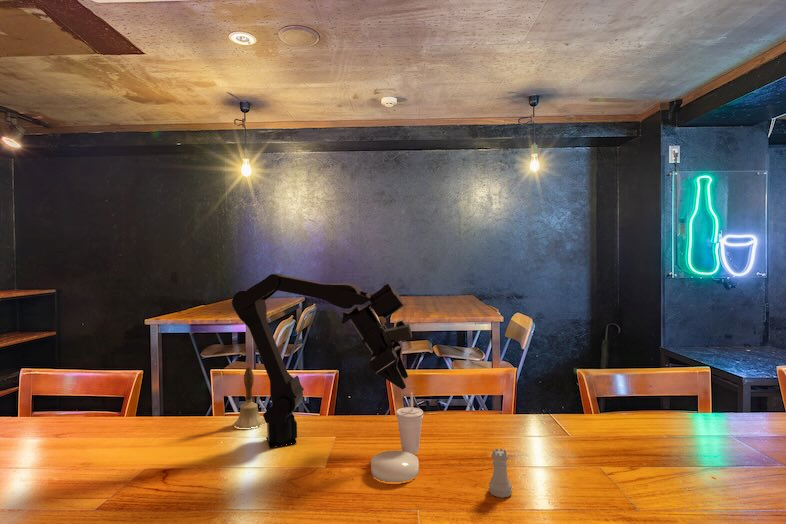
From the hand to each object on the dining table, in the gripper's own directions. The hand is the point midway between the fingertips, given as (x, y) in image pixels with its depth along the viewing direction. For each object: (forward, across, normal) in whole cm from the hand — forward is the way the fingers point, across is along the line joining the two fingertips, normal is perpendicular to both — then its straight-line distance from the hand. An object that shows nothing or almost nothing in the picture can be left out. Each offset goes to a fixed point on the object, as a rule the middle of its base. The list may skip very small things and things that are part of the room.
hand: (405, 382), depth 109 cm
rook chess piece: (+23, -21, -8) cm, 32 cm away
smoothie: (+13, -5, +7) cm, 16 cm away
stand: (+12, -15, +9) cm, 21 cm away
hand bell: (-11, +11, +45) cm, 48 cm away
